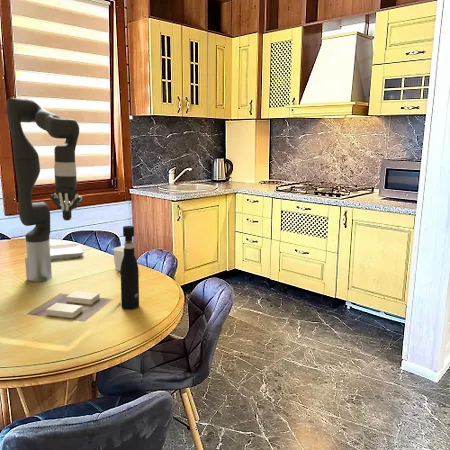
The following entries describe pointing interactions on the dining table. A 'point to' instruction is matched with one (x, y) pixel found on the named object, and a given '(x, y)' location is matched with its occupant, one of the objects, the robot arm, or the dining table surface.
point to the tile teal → (82, 297)
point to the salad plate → (65, 251)
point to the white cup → (118, 257)
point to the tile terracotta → (64, 310)
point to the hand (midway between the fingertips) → (67, 220)
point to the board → (61, 298)
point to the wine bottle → (129, 273)
